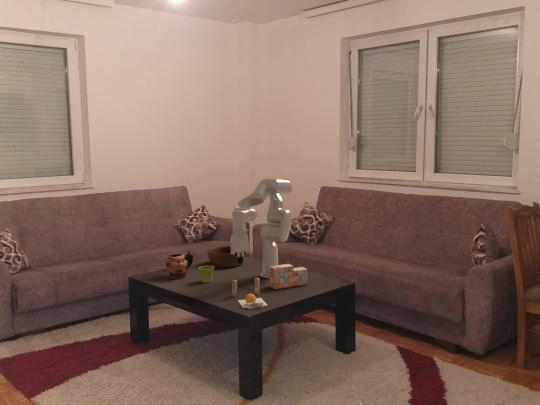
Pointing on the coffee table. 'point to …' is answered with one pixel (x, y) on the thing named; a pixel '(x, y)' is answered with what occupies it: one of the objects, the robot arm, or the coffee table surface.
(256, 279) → the post
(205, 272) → the plant pot
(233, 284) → the post
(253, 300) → the ball
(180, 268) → the decorative planter
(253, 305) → the stopper wall
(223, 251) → the wooden bowl
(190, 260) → the controller
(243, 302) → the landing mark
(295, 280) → the stack of blocks
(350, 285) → the coffee table surface
